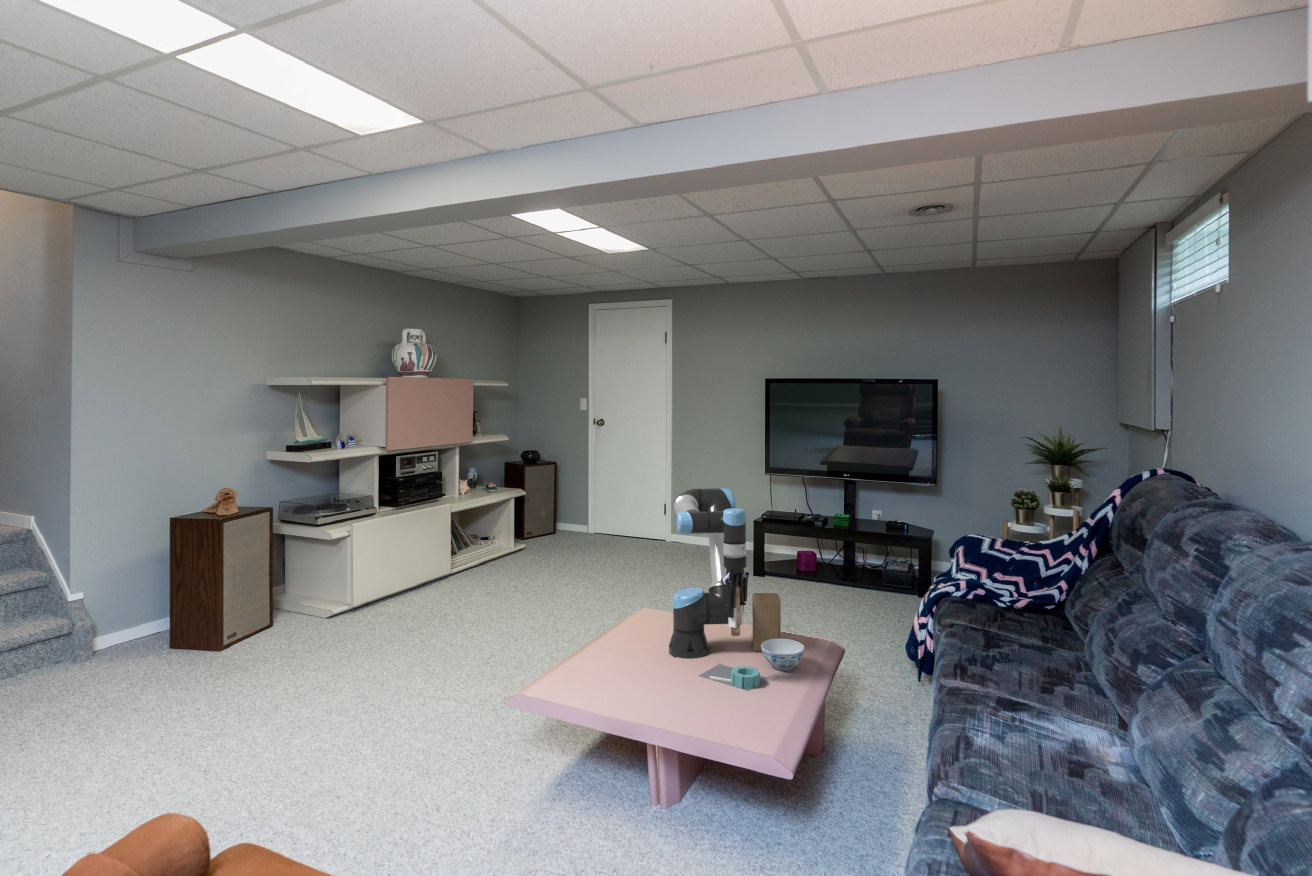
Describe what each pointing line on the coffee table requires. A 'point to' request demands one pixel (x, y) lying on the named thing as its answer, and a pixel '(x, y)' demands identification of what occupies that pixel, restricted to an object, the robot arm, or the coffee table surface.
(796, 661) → the chinaware
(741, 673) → the bead
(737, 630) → the wooden rod
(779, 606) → the wooden block
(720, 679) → the white stick
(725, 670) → the mat
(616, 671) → the coffee table surface
